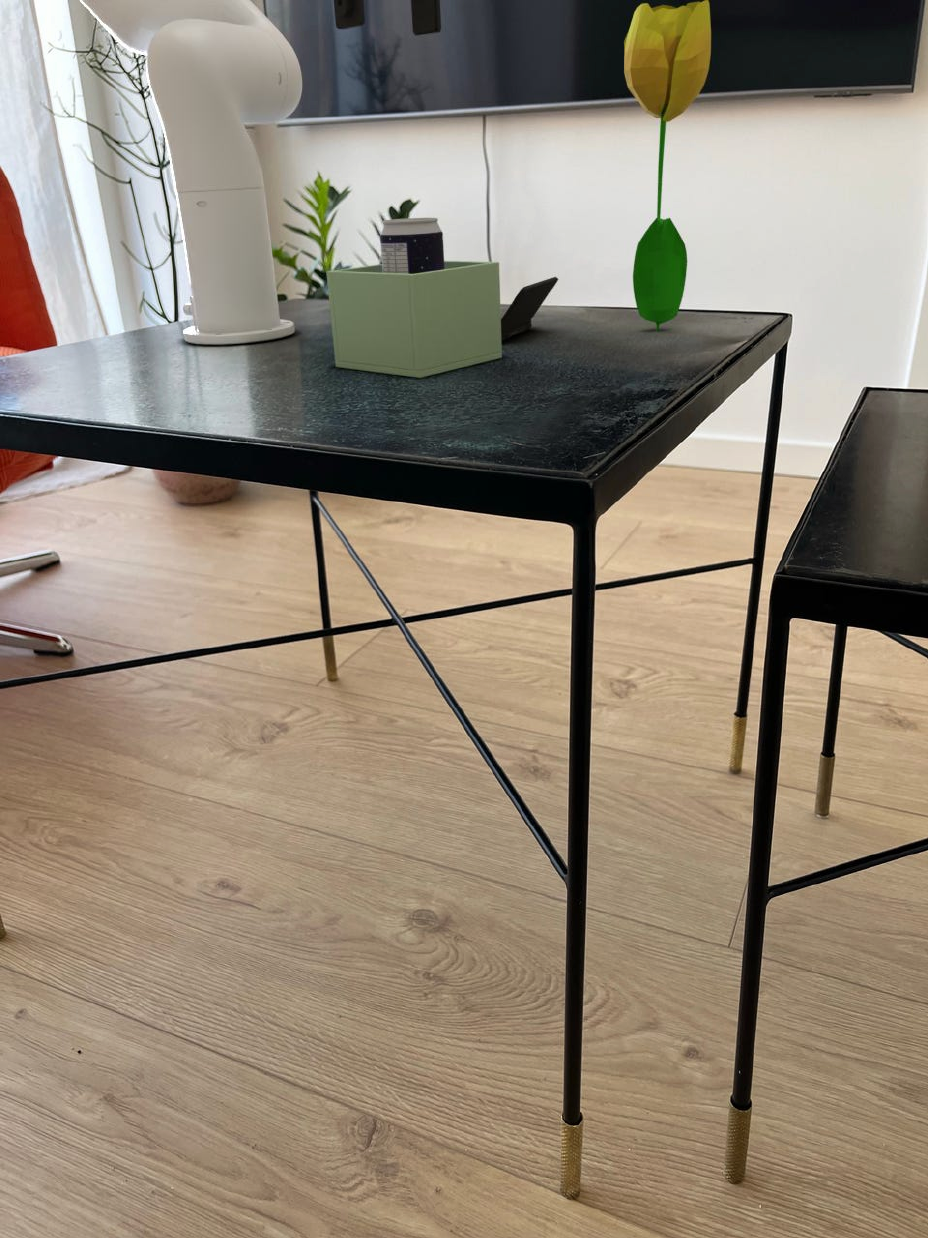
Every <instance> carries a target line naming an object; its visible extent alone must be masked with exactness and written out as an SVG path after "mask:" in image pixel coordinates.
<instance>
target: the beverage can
mask: <svg viewBox="0 0 928 1238" xmlns="http://www.w3.org/2000/svg"><path fill="white" fill-rule="evenodd" d="M438 219H439V218H438V217H409V218H408V217H407V218H394V219H385V220H383V221H382V224H383V227H382V229H381V233H380V235H379V242H380V243H379V244H380V256H381V264H382V271H383V273H402V274H416V273H423V272H430V271H437V270H444V269H445V268H444V261H445V251H444V250H445V249H444V248H445V247H444V233H443V231H442V229H441V228H440V226H439V223H438Z"/></svg>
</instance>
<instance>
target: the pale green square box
mask: <svg viewBox="0 0 928 1238" xmlns="http://www.w3.org/2000/svg"><path fill="white" fill-rule="evenodd" d="M444 268H445V269H444V270H437V271H430V272H423V273H416V274H402V273H383V271H382V263H380V264H372V265H371V264H370V265H364V266H363V265H362V266H358V267H357V266H355V267H349V268H342V269H341V268H340V269H334V270H326V271H325V273H326V282H327V291H328V302H329V312H330V322H331V332H332V333H331V334H332V342H333V353H334V361H335V368H340V369H348V370H354V371H355V370H356V371H363V372H364V371H365V372H372V373H378V374H385V375H392V376H393V375H394V376H402V377H410V378H416V379H422V378H425V377H429V376H434V375H438V374H442V373H447V372H450V371H454V370H458V369H462V368H466V367H470V366H473V365H478V364H482V363H487V362H490V361H494V360H499V359H502V358H503V355H502V354H503V352H502V351H503V350H502V348H503V347H502V341H501V319H502V317H501V315H502V313H501V289H500V288H501V282H500V281H501V279H500V262H499V261H469V260H468V261H466V260H444Z"/></svg>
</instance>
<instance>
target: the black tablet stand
mask: <svg viewBox="0 0 928 1238" xmlns="http://www.w3.org/2000/svg"><path fill="white" fill-rule="evenodd" d="M558 281H559V278H558V277H557V276H553V277H550V278H546V279H544V280H541V281H538V282H534V283H532V284H529V285H526V286H524V287H522V288H521V289H520V290H519V292H518V293H517V294H516V296H515V297H514V299H513V301H512V302H511V303H510V306H509V307H508V308H507V310H506V311H505V313H504V314H503V316H502V317H501V342H503V341H505V340H508V339H510V338H511V337H512V336H514V335H519V334H522V333H523V332H525V331H528V330H530V329H531V328H532V326H533V325H532V324H533V323H532V319H533V318H534V317H535V315H536V314H537V312H538V310H539V309H540V308H541V306H542V305H543V304H544V302H545V300H546V299H547V297H548V296H549V294H550V293H551V292H552V290H553V289H554V287H555V286H556V284H557V283H558Z"/></svg>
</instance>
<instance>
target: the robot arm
mask: <svg viewBox="0 0 928 1238" xmlns="http://www.w3.org/2000/svg"><path fill="white" fill-rule="evenodd" d="M79 1H80V2H81V3H82V4H83V5H84V7H86V9H88V11H89V12H90V13H91V14H92V15H93V16H94V17H95V18H96V19H97V20H98V22H99V23H100V24H101V25H102V26H103V27H104V28H105V29H106V30H107V31H108V33H109V34H110V35H111V36H112V37H113V38H114V39H115V40H116V41H117V42H118V43H120V45H122V47H124V48H126V49H127V50H129V51H131V52H133V53H136V54H139V55H145V56H146V58H145V71H146V77H147V82H148V86H149V90H150V93H151V97H152V100H153V103H154V105H155V108H156V111H157V114H158V118H159V120H160V123H161V127H162V130H163V134H164V138H165V143H166V146H167V152H168V156H169V162H170V166H171V167H170V168H171V173H172V179H173V186H174V192H175V196H176V202H177V208H178V215H179V221H180V228H181V235H182V240H183V247H184V254H185V260H186V267H187V273H188V279H189V280H188V281H189V287H190V292H191V296H189V300H190V303H189V302H188V303H187V302H186V303H185V304H184V305H183V306H182V311H183V313H184V315H186V316H192V321H193V326H190V327H187V328H185V329H184V330H183V332H182V333H183V339H184V341H185V342H187V343H190V344H195V345H235V344H236V345H238V344H249V343H259V342H264V341H272V340H277V339H282V338H285V337H289V336H291V335H293V334H294V333H295V331H296V329H295V323H294V322H293V321H291V320H288V319H281V317H280V316H281V315H280V307H279V299H278V290H277V282H276V273H275V266H274V257H273V248H272V241H271V232H270V225H269V224H270V223H269V216H268V206H267V200H266V190H265V184H264V176H263V169H262V165H261V161H260V158H259V155H258V152H257V149H256V147H255V144H254V143H253V141H252V139H251V136H250V134H249V133H248V131H247V129H246V126H245V125H271V124H275V123H280V122H281V121H283V120H285V119H287V118H288V117H290V115H292V114H293V112H295V110H296V109H297V107H298V105H299V103H300V100H301V97H302V92H303V75H302V69H301V66H300V62H299V60H298V57H297V55H296V53H295V51H294V48H293V47H292V46H291V44H290V42H289V41H288V40H287V38H286V37H285V36H284V35H283V33H282V32H281V31H280V30H279V28H277V27H276V26H275V24H274V23H272V21H271V20H269V18H268V17H267V16H266V15H265V14H264V13H263V12H262V11H261V10H260V9H259V8H258V6H256V4H254V3H253V2H252V1H251V0H79ZM364 2H365V1H364V0H333V8H334V21H335V28H336V29H337V30H347V29H352V28H353V29H354V28H358V27H362V26H364V25H365V23H366V16H365V15H366V14H365V3H364ZM410 11H411V27H412V28H411V29H412V33H413V35H414V36H415V37H417V36H418V37H422V36H427V35H435V34H438V33H440V32H441V30H442V18H441V16H442V13H441V0H410Z"/></svg>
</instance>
